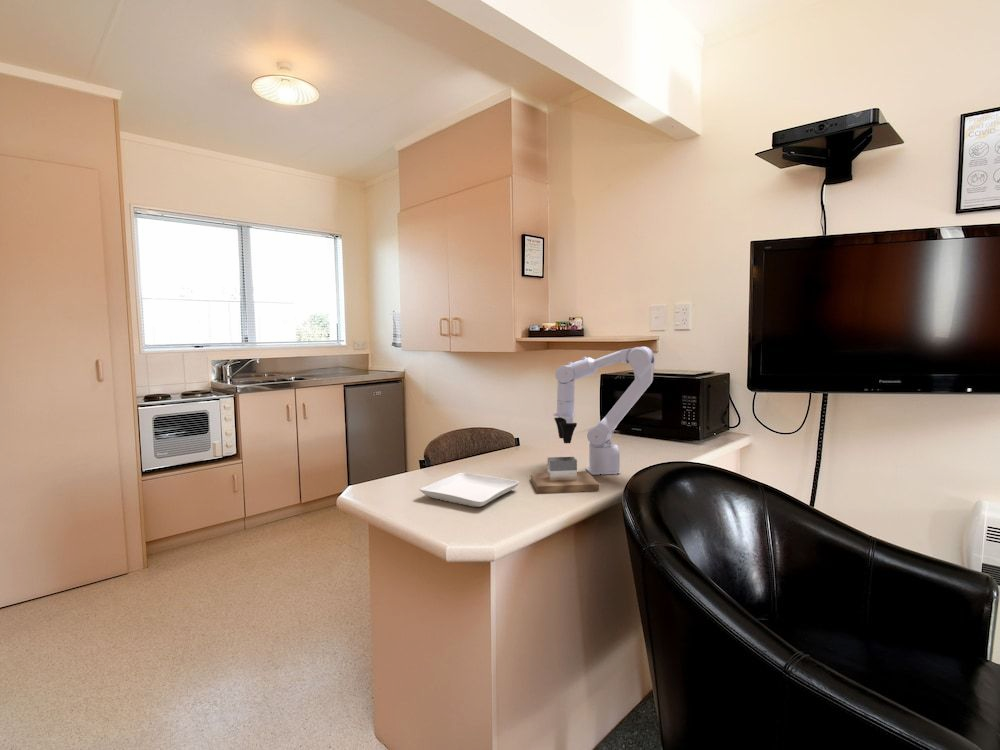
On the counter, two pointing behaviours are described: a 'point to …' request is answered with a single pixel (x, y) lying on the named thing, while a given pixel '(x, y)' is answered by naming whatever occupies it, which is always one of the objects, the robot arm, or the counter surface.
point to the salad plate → (469, 489)
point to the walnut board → (564, 483)
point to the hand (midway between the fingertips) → (564, 440)
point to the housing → (562, 468)
